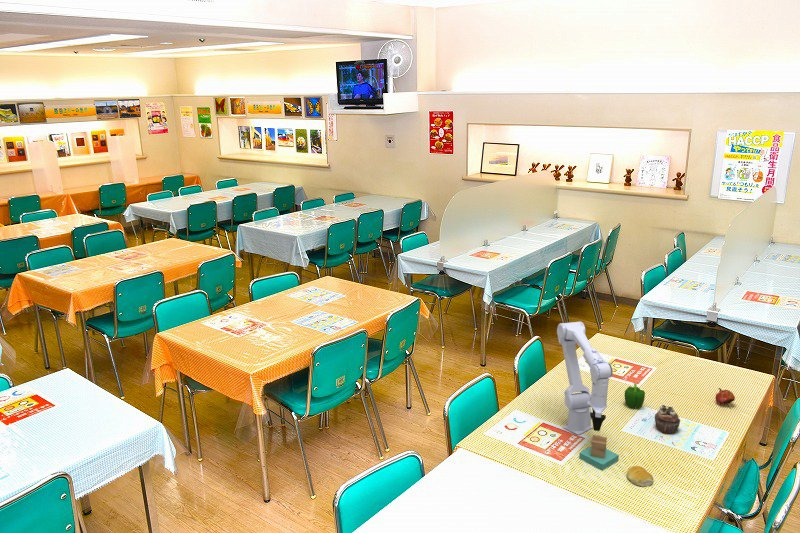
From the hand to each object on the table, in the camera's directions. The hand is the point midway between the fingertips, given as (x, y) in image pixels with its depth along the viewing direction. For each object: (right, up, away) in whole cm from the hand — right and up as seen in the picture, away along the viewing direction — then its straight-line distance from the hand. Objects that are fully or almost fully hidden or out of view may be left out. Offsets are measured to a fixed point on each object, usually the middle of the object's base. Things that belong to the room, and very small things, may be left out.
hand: (596, 425), depth 235 cm
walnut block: (-1, -9, -6) cm, 11 cm away
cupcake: (+33, -6, +15) cm, 37 cm away
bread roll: (+10, -15, -17) cm, 25 cm away
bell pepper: (+27, -1, +34) cm, 43 cm away
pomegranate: (+67, 0, +34) cm, 75 cm away
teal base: (-1, -12, -5) cm, 13 cm away
